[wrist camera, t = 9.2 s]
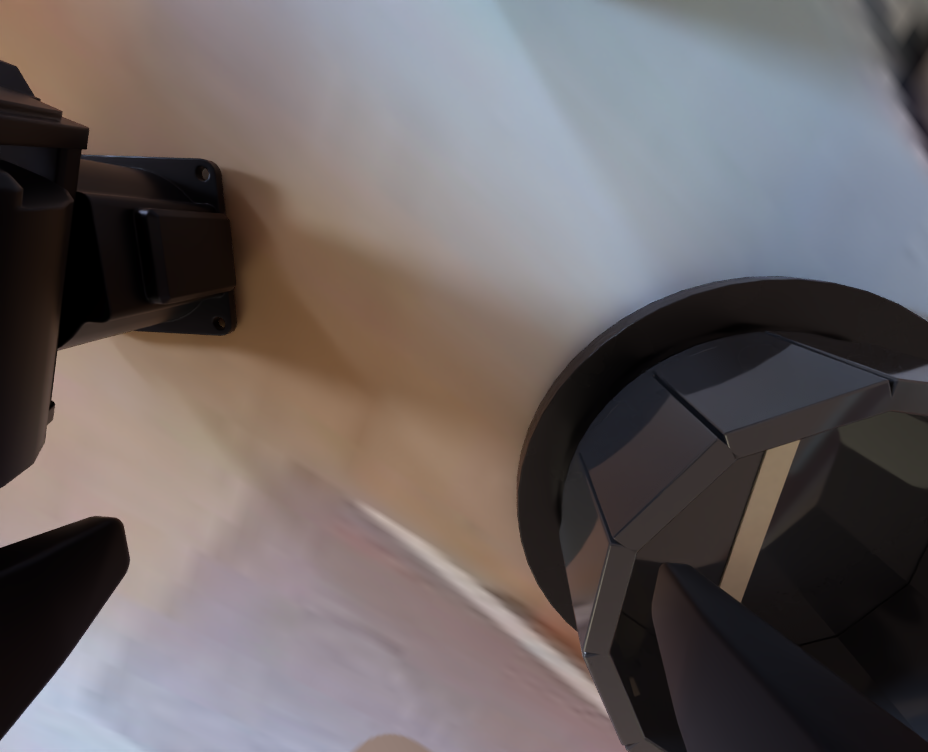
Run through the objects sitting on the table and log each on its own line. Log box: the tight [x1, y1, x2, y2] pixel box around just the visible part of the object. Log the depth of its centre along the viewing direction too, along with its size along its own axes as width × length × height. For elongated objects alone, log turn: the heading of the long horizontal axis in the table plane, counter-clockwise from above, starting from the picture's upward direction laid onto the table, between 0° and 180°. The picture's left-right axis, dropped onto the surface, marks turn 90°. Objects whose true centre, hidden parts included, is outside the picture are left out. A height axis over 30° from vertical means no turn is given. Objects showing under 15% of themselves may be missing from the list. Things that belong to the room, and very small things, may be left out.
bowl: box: [559, 331, 928, 752], centre depth 16 cm, size 17×14×6 cm
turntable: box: [517, 276, 928, 632], centre depth 19 cm, size 18×18×1 cm
